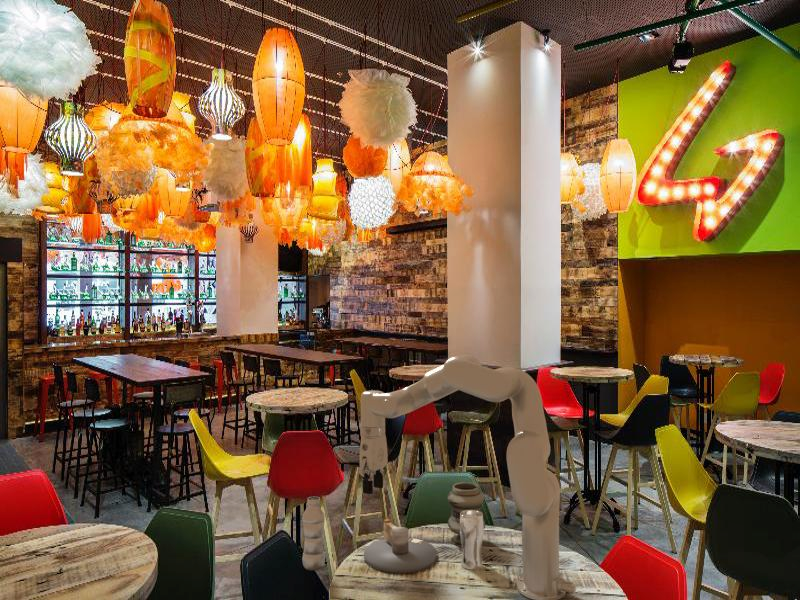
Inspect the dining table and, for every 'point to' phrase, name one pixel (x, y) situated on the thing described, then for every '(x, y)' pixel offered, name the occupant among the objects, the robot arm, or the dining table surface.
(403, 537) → the tan knob handle
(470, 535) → the beer glass
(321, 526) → the plastic bottle
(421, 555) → the dial base
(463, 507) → the apothecary jar
